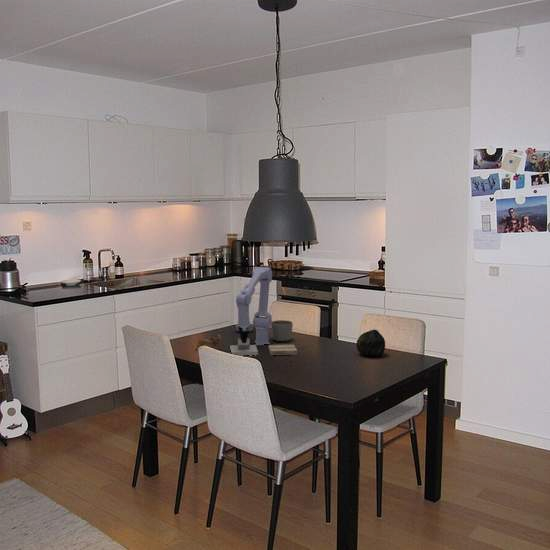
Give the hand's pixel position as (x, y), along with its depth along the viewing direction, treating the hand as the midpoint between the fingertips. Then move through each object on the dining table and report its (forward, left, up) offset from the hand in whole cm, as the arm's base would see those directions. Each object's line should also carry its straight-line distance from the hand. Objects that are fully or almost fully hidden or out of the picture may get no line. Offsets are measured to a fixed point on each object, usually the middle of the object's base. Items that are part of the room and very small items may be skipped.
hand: (243, 341), depth 325 cm
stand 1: (0, 0, -7) cm, 7 cm away
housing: (0, 0, -4) cm, 4 cm away
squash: (+12, +67, -7) cm, 68 cm away
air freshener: (-50, +4, -7) cm, 51 cm away
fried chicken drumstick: (-7, -18, -7) cm, 21 cm away
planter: (-25, +24, -7) cm, 35 cm away
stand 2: (+1, +21, -7) cm, 22 cm away
